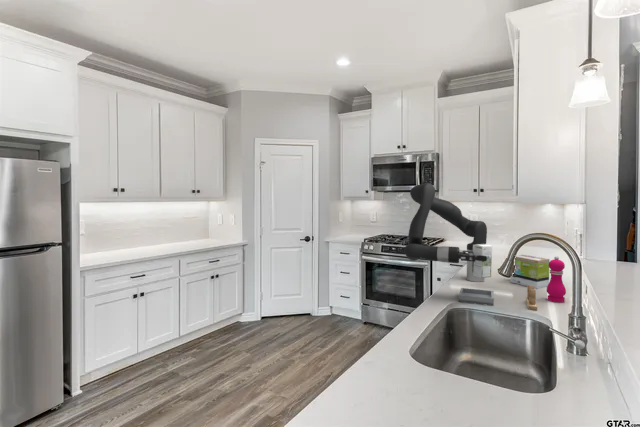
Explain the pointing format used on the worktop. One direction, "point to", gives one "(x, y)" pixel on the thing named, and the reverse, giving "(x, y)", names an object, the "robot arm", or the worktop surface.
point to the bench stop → (531, 298)
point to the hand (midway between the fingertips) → (486, 257)
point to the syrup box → (482, 267)
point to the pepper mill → (556, 281)
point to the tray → (476, 296)
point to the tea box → (531, 271)
